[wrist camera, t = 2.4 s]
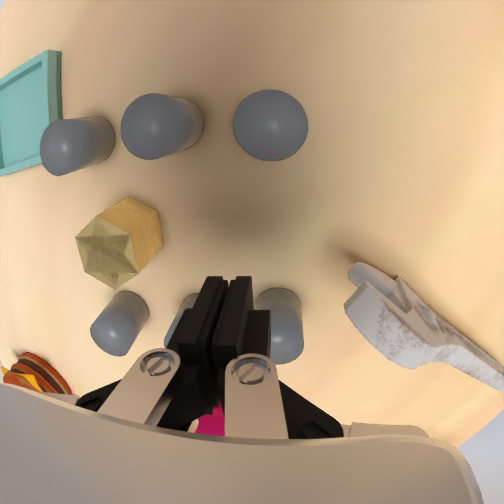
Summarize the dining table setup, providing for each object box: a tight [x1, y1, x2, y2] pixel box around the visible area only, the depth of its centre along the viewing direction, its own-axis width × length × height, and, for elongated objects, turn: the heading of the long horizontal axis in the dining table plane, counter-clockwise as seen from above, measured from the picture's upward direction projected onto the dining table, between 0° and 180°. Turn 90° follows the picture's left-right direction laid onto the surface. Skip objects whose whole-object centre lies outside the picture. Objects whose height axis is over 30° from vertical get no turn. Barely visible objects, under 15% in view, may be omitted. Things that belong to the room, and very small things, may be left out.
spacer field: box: [40, 90, 308, 364], centre depth 17 cm, size 16×15×4 cm
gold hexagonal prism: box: [75, 197, 163, 289], centre depth 17 cm, size 5×4×4 cm
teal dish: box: [0, 50, 62, 177], centre depth 15 cm, size 8×8×2 cm
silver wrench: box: [344, 262, 504, 393], centre depth 18 cm, size 8×2×30 cm
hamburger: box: [1, 352, 71, 395], centre depth 26 cm, size 9×10×7 cm
